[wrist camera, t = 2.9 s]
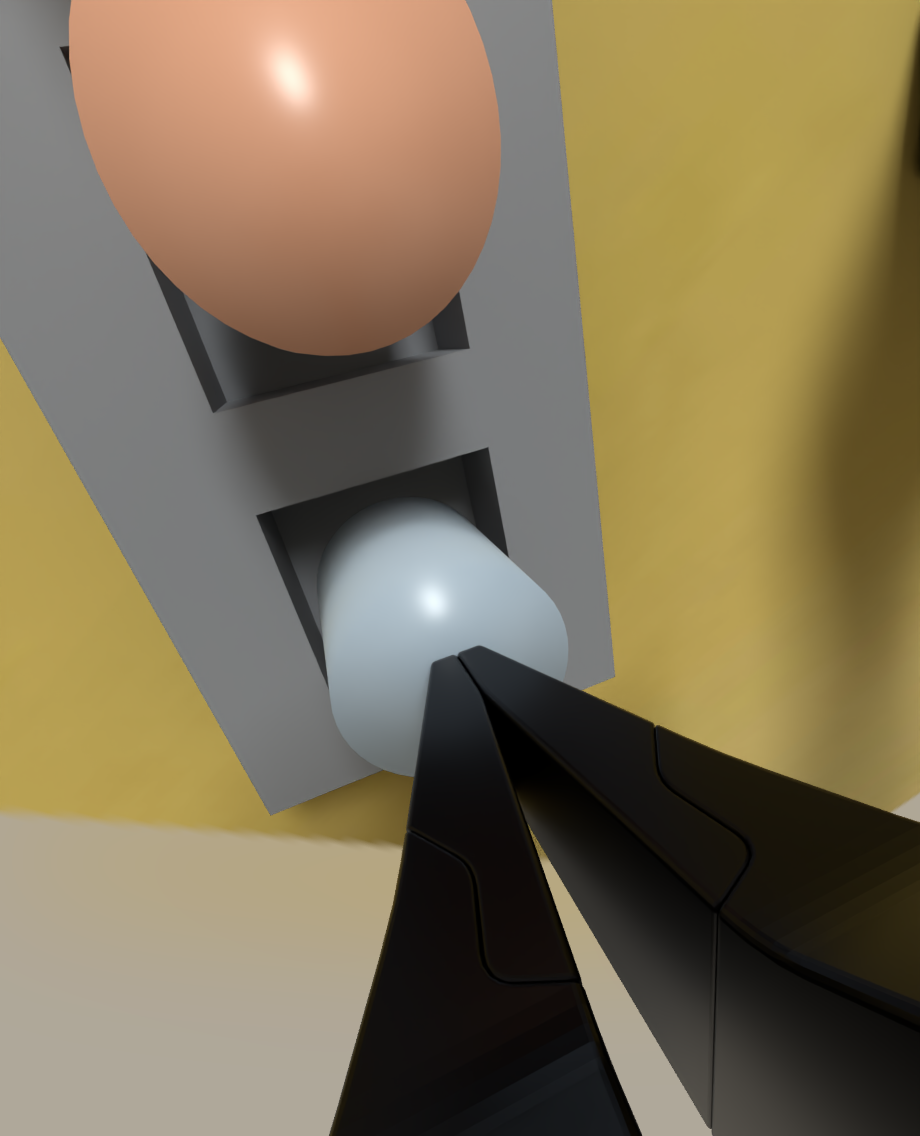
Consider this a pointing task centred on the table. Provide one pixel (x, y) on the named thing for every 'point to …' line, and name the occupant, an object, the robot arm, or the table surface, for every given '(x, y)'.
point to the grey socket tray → (301, 405)
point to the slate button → (419, 618)
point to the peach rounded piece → (296, 156)
